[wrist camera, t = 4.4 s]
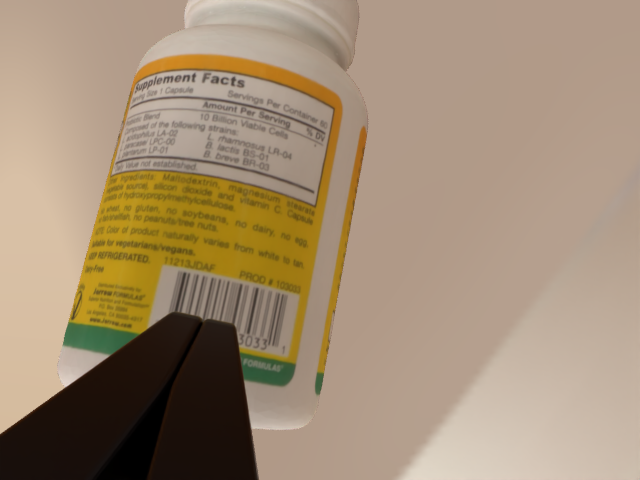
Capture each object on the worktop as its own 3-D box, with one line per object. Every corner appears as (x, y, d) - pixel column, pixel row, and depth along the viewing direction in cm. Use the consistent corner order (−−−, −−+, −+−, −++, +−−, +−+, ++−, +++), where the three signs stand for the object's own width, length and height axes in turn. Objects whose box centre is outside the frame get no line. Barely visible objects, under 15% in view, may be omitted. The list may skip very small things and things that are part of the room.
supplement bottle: (199, 432, 9) (316, -116, 11) (-10, 375, 12) (114, -54, 14) (360, 435, 13) (422, 44, 15) (181, 392, 16) (253, 67, 18)
